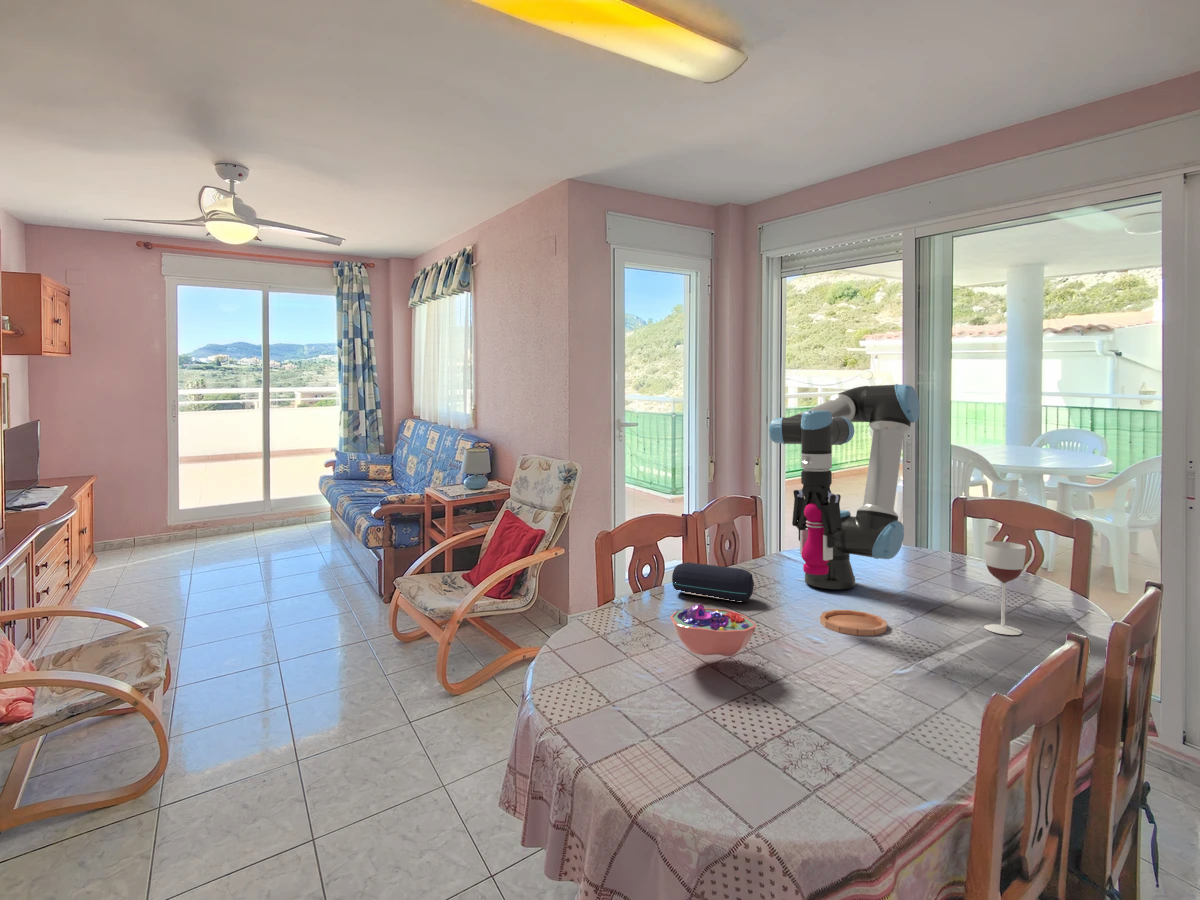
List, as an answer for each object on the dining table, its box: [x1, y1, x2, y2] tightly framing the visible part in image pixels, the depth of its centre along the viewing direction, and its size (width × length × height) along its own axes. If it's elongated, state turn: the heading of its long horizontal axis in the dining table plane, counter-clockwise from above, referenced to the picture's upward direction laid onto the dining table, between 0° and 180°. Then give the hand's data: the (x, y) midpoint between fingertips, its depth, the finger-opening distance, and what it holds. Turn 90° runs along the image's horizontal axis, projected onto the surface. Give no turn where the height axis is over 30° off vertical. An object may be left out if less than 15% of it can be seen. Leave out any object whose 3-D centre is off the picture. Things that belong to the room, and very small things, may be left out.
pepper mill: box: [801, 503, 829, 575], centre depth 162 cm, size 7×7×20 cm
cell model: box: [669, 603, 757, 658], centre depth 144 cm, size 17×20×11 cm
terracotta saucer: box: [819, 609, 888, 636], centre depth 164 cm, size 16×16×2 cm
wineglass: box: [983, 540, 1027, 636], centre depth 159 cm, size 9×10×22 cm
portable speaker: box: [671, 562, 755, 603], centre depth 189 cm, size 25×10×10 cm, turn 59°
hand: (816, 556), depth 162 cm, fingers closed on pepper mill, 7 cm apart
